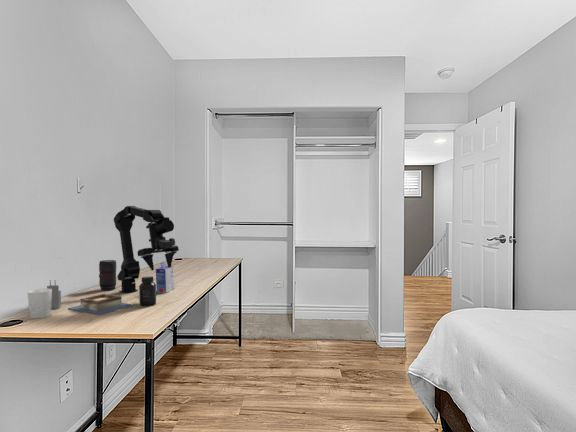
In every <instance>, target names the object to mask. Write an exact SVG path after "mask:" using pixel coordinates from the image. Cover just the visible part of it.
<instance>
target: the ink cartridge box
mask: <svg viewBox="0 0 576 432" xmlns="http://www.w3.org/2000/svg"><path fill="white" fill-rule="evenodd" d="M174 282H175V280H174V265H171V268H169V267H168V265H166V264H165V262H164V261H163V262H160V267H158V268H155V284H156V294H157V293H158V294H166V293H167V294H168V292H171V291H172V290H174V289H175V283H174Z"/></svg>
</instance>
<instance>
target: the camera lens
mask: <svg viewBox="0 0 576 432" xmlns="http://www.w3.org/2000/svg"><path fill="white" fill-rule="evenodd" d="M98 271H99V274H98V278H99V281H98V282H99V288H100V290H101V291H105V292H106V291H107V292H108V291H113V290H115V289H116V285H117V261H116V260H114V259H105V260H104V259H103V260H100V261H99V264H98Z"/></svg>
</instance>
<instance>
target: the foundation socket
mask: <svg viewBox="0 0 576 432" xmlns="http://www.w3.org/2000/svg"><path fill="white" fill-rule="evenodd" d="M122 296H123V295H115V294H109V293H101V294H98V295H92V296H89V297H84V298H80V305H81V308H84V309H90V310H96V311H100V310H104V309H108V308H111V307H115V306H119V305H122V303H123V302H122V300H123V299H122Z"/></svg>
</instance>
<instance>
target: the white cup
mask: <svg viewBox="0 0 576 432" xmlns="http://www.w3.org/2000/svg"><path fill="white" fill-rule="evenodd" d="M27 300H28V302H27V303H28V310H29V318H30V319H42V318H47V317H50V316H51V315H52V310H51V303H52V289H49V288H47V287H46V288H36V289H31V290H28V291H27Z"/></svg>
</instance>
